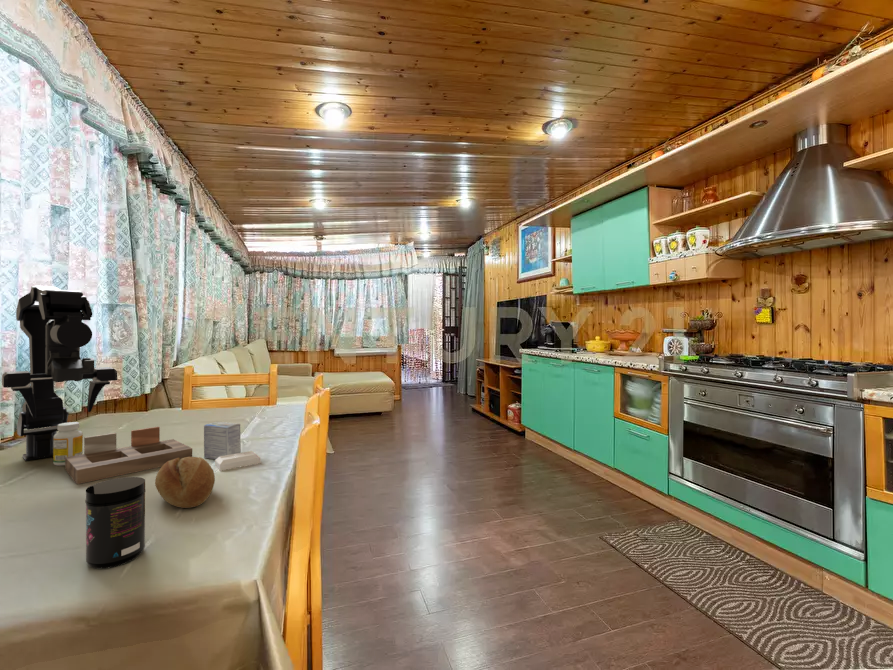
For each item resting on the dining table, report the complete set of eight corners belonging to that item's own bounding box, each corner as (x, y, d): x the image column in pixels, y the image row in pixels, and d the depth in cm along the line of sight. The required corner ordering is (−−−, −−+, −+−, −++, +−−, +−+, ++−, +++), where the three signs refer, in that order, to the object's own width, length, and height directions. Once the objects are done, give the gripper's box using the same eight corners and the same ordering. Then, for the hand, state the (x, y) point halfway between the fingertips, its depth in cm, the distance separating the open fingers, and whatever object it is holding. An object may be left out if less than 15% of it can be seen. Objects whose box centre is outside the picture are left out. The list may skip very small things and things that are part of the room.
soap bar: (260, 464, 103) (260, 454, 103) (219, 472, 98) (219, 461, 98) (254, 460, 107) (254, 449, 107) (215, 467, 101) (215, 456, 101)
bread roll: (161, 520, 72) (161, 474, 72) (150, 494, 84) (150, 454, 83) (222, 505, 79) (222, 462, 79) (204, 483, 90) (205, 446, 90)
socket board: (65, 470, 98) (65, 440, 98) (173, 450, 114) (173, 424, 114) (77, 484, 89) (77, 451, 89) (192, 460, 105) (192, 432, 105)
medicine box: (241, 456, 109) (241, 423, 109) (227, 461, 105) (227, 426, 105) (218, 453, 112) (218, 421, 111) (203, 458, 107) (203, 424, 107)
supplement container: (121, 542, 64) (121, 475, 64) (156, 548, 63) (156, 479, 62) (72, 566, 58) (72, 491, 58) (110, 574, 56) (110, 496, 56)
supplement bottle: (55, 467, 100) (55, 427, 99) (51, 462, 103) (51, 423, 103) (84, 462, 104) (84, 423, 104) (80, 457, 107) (80, 420, 107)
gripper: (5, 348, 82) (5, 428, 82) (123, 346, 96) (123, 414, 97) (1, 345, 89) (1, 418, 90) (111, 344, 103) (111, 407, 104)
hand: (62, 414), depth 95 cm, fingers open, 9 cm apart
